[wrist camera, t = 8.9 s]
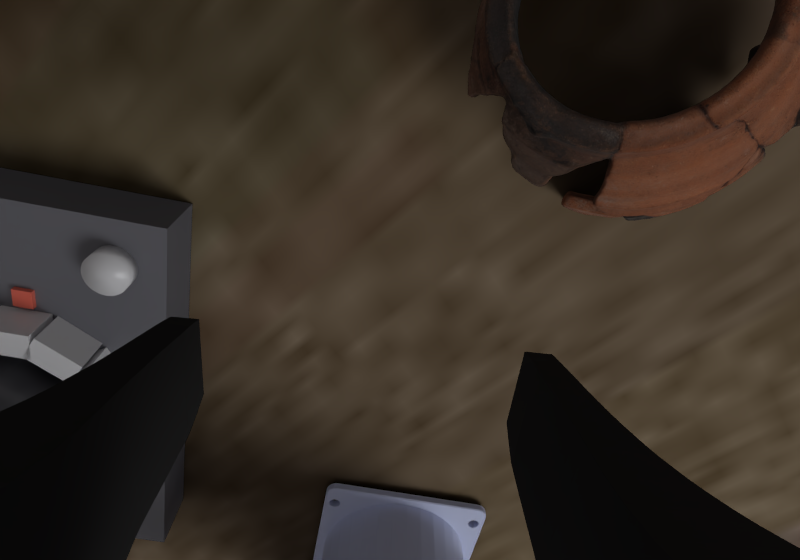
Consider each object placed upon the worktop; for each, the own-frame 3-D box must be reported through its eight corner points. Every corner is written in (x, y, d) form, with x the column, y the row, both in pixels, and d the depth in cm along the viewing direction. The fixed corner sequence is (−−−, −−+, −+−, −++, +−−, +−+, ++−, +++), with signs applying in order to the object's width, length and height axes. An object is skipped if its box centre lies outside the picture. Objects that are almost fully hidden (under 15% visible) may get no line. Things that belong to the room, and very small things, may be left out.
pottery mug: (486, 226, 22) (443, 199, 14) (498, -17, 22) (462, -183, 14) (848, 235, 19) (1055, 205, 11) (865, -52, 19) (1088, -293, 11)
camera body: (183, 498, 29) (151, 571, 25) (-23, 468, 28) (-87, 539, 24) (192, 203, 21) (149, 247, 18) (-87, 151, 20) (-191, 185, 17)
